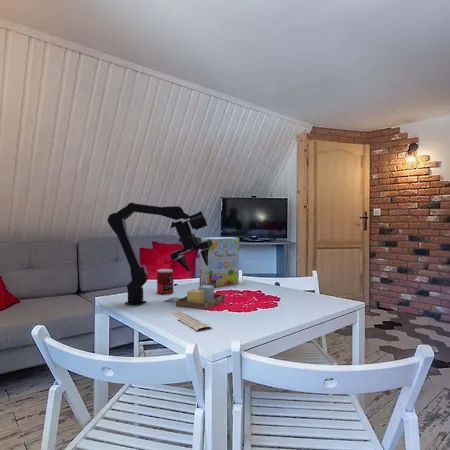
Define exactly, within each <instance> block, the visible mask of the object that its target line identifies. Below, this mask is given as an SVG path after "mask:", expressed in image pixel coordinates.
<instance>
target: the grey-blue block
mask: <svg viewBox="0 0 450 450" xmlns="http://www.w3.org/2000/svg"><path fill="white" fill-rule="evenodd" d="M197 290H204V302H210V301H212V300H214V294H215V287H214V286H209V285H203V286H200V285H199V286H198V289H197Z"/></svg>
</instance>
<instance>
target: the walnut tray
mask: <svg viewBox="0 0 450 450" xmlns="http://www.w3.org/2000/svg"><path fill="white" fill-rule="evenodd" d="M180 298H181V299H179V300H176V303H175V307H177V308H185V309H186V308H188V309H196V310H204V311H207V310H209V309H211V308H212V307H214V306H216V305H218V304H220V303H222V302H223V301H225V299H226V298H225V294H220V293H219V294H218V293H214V300H212V301H210V302H204V303H195V302H187V295H186V296H184V297H180Z"/></svg>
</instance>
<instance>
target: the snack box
mask: <svg viewBox="0 0 450 450" xmlns="http://www.w3.org/2000/svg"><path fill="white" fill-rule="evenodd" d="M200 238H201V242H203V241H206V240H209V239H210V240H211V241H212V243H213V245H212V246H210V247H211V248H210V249H209V251H208V266H207V265H206V264H205V262H204V259H203V257H202V255H201V252H200V251H202V250H201V249H200V251H199V252H200V254H199V257H200V259H199V262H200V263H199V287H200V286H203V285H209V286H214V288H218V287H220V288H221V287H225V286H232V285H238V284H239V268H240V267H239V265H240V262H239V261H240V255H239V254H240V237H234V236H232V237H231V236H229V237H228V236H227V237H225V236H221V237H217V236H216V237H215V236H214V237H213V236H212V237H200Z"/></svg>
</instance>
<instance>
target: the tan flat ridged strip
mask: <svg viewBox="0 0 450 450" xmlns="http://www.w3.org/2000/svg"><path fill="white" fill-rule="evenodd" d="M168 313H169V314H170V315H172V316H174V317H175V318H177V321H178V322H179V323H181V324H183V325H184V324H185V326H186V325H187V326H189V327H190V328H189V327H188V328H189V329H191V328H192V329H194V330H195V331H194V330H193V331H194V332H198V330H200V329H202V328H203V329H204V328H208V327H209V328H208V329H210V328H211V327H212V326H210V325H209V324H207V323H205V322H202V321H201V320H198V319H197V318H195V317H193V316H191V315H190V314H187V313H186V312H184V311H182V310H172V311H169V312H168ZM187 326H186V327H187ZM212 328H213V327H212ZM192 329H191V330H192Z"/></svg>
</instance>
